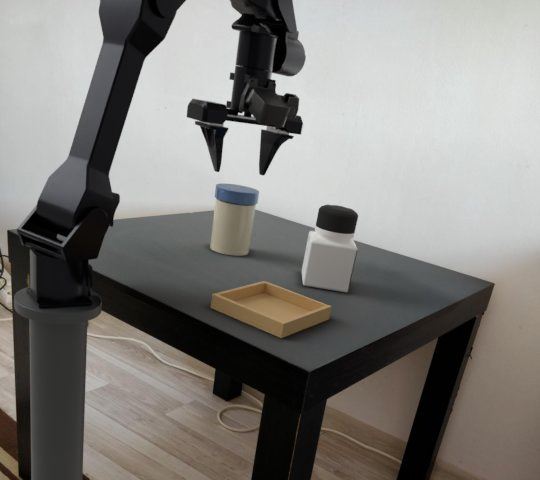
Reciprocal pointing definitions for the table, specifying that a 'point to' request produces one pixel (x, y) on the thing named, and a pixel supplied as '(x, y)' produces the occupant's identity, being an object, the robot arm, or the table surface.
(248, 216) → the jar
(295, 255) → the table surface
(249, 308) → the tray
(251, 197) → the jar lid
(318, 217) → the medicine bottle
